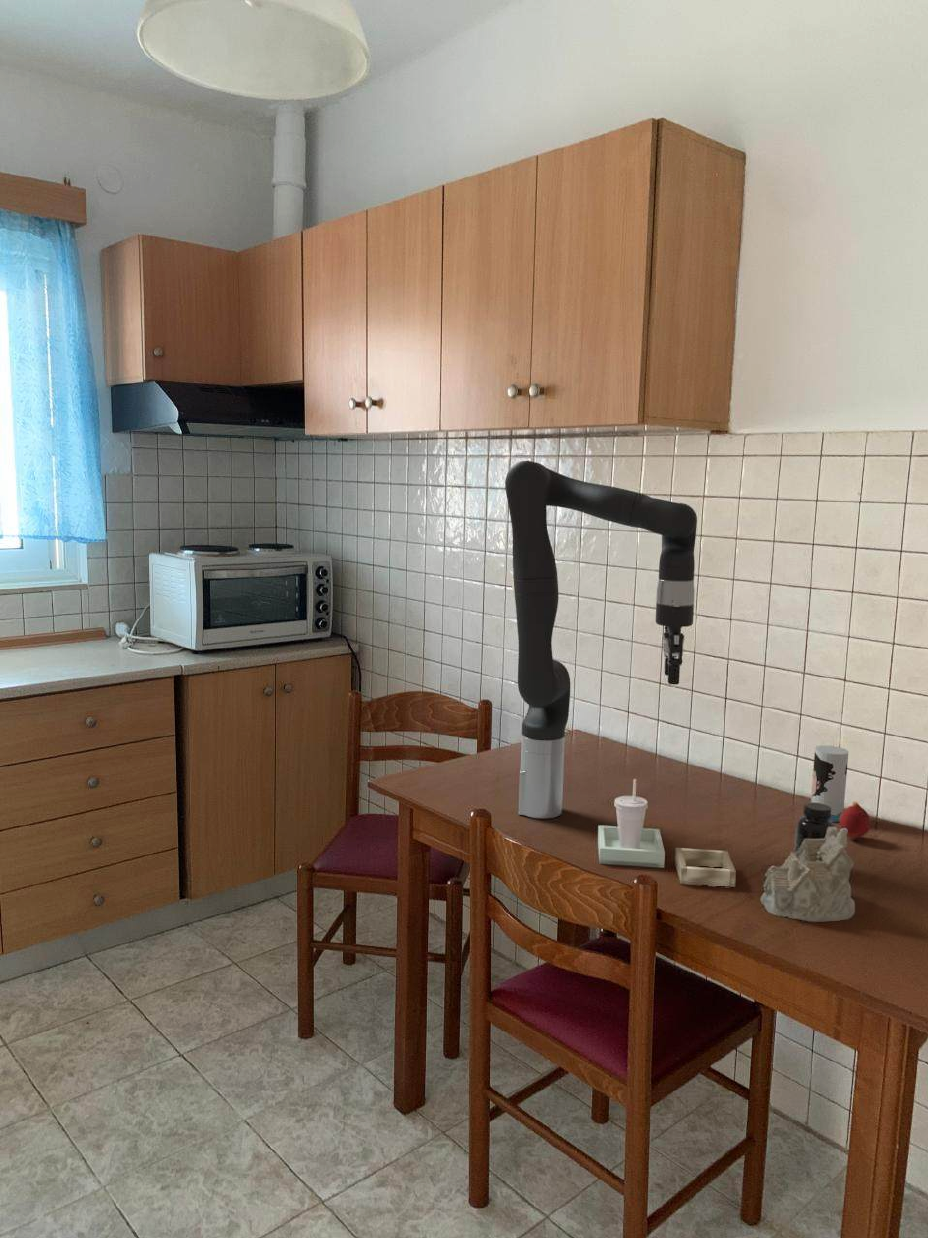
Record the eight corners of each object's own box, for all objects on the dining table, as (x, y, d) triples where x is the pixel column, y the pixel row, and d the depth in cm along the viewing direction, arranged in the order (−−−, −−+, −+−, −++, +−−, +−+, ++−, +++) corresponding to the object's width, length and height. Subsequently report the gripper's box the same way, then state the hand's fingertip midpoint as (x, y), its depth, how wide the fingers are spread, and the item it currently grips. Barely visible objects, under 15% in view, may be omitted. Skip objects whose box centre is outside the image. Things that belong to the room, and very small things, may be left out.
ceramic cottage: (841, 883, 168) (843, 805, 165) (864, 929, 152) (867, 843, 149) (752, 881, 170) (752, 803, 168) (765, 926, 154) (766, 841, 152)
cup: (835, 811, 206) (841, 745, 203) (847, 822, 199) (853, 754, 197) (805, 810, 206) (810, 745, 203) (816, 821, 199) (821, 754, 197)
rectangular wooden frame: (680, 884, 166) (681, 868, 166) (674, 862, 176) (675, 847, 175) (734, 887, 165) (735, 871, 165) (726, 866, 174) (727, 851, 174)
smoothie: (645, 857, 176) (648, 785, 174) (611, 853, 177) (613, 782, 175) (646, 844, 182) (649, 775, 180) (614, 841, 184) (616, 772, 182)
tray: (599, 863, 174) (600, 848, 174) (597, 839, 186) (598, 825, 186) (664, 868, 173) (665, 852, 173) (658, 843, 185) (659, 829, 184)
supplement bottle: (827, 878, 170) (833, 815, 168) (789, 869, 174) (794, 808, 172) (835, 865, 176) (840, 804, 174) (797, 857, 180) (802, 797, 178)
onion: (867, 836, 191) (871, 799, 190) (870, 846, 186) (873, 808, 184) (837, 832, 193) (840, 795, 192) (838, 842, 187) (842, 804, 186)
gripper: (654, 597, 196) (651, 672, 199) (658, 605, 182) (655, 686, 185) (690, 598, 195) (686, 673, 198) (697, 606, 181) (693, 687, 184)
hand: (671, 679), depth 191 cm, fingers open, 8 cm apart
